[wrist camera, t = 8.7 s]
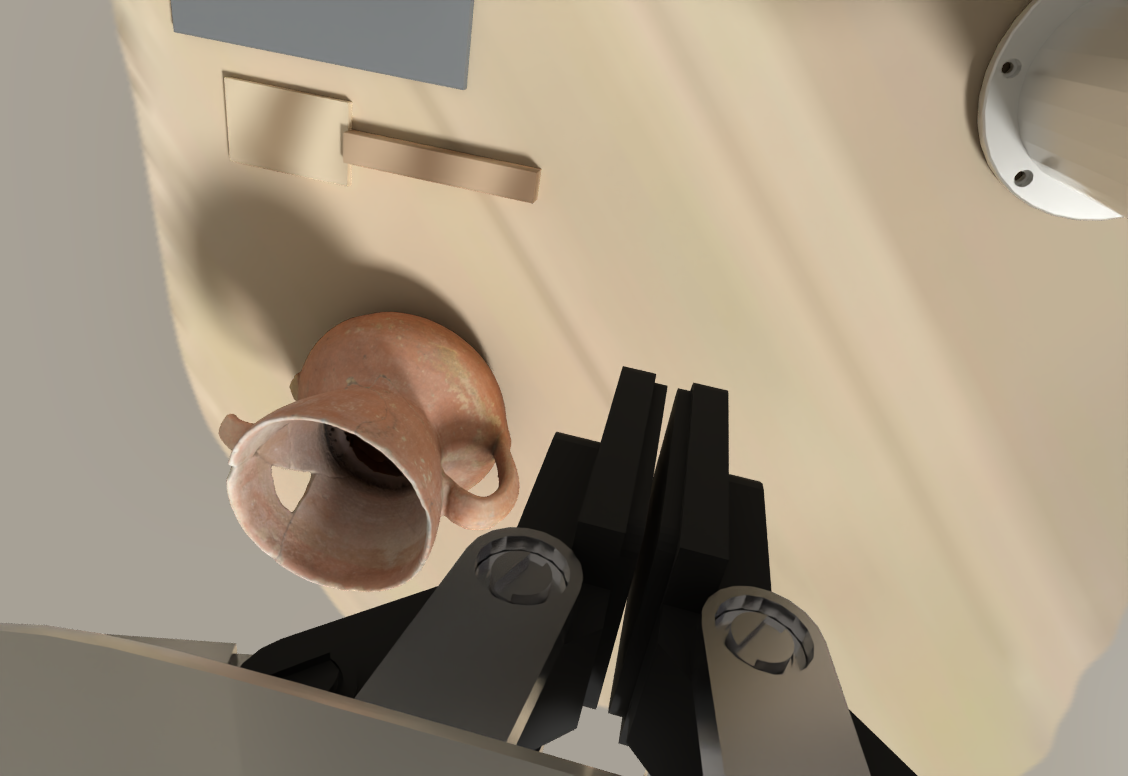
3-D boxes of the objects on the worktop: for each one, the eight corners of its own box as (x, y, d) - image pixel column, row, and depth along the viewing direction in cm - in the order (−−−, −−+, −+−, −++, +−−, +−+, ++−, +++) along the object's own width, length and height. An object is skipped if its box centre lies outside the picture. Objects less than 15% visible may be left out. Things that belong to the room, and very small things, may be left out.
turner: (545, 141, 42) (540, 144, 41) (533, 224, 45) (529, 229, 44) (230, 76, 44) (217, 78, 43) (235, 159, 47) (224, 162, 46)
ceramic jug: (298, 430, 56) (181, 554, 44) (318, 261, 48) (184, 352, 36) (517, 508, 56) (461, 654, 43) (571, 350, 48) (522, 471, 36)
